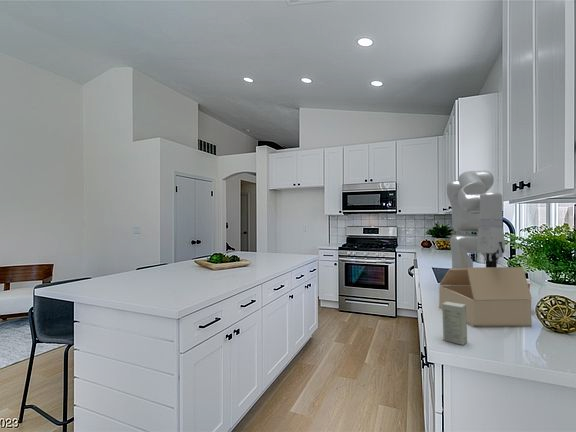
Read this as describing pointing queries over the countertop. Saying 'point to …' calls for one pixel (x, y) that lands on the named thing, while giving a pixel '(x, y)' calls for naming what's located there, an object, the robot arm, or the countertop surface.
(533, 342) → the countertop surface
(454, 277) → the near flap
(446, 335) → the skincare box
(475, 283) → the outer flap
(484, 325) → the carton
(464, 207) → the robot arm
